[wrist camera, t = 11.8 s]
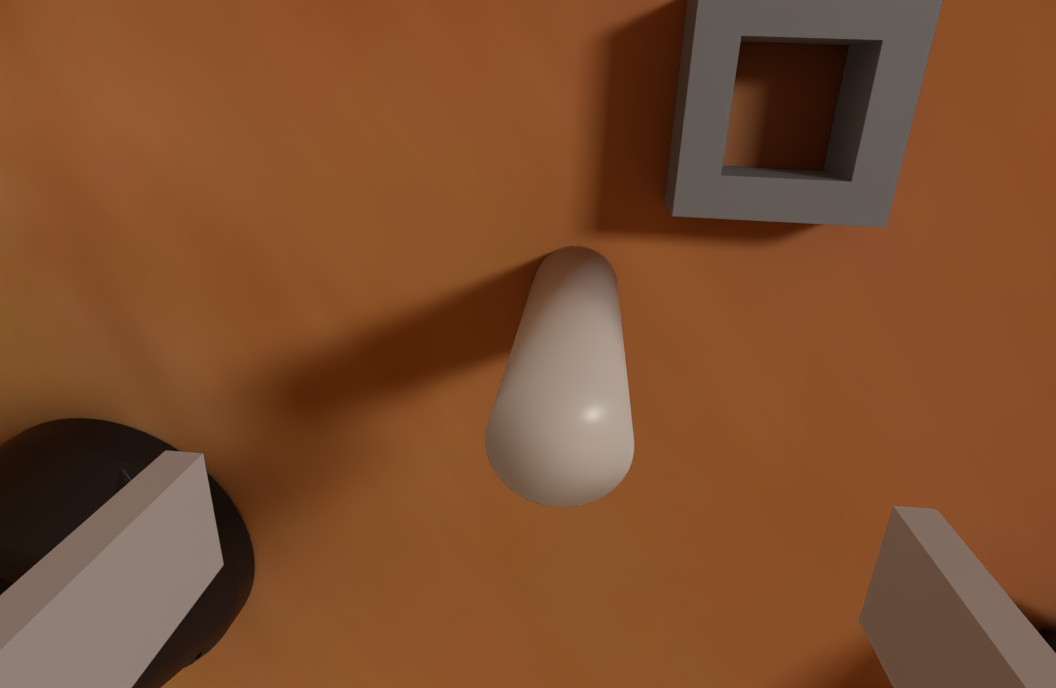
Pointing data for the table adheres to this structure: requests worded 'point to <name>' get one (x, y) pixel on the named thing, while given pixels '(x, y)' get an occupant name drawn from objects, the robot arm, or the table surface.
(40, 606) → the robot arm
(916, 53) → the socket block
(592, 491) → the plug
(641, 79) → the table surface
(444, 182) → the table surface
